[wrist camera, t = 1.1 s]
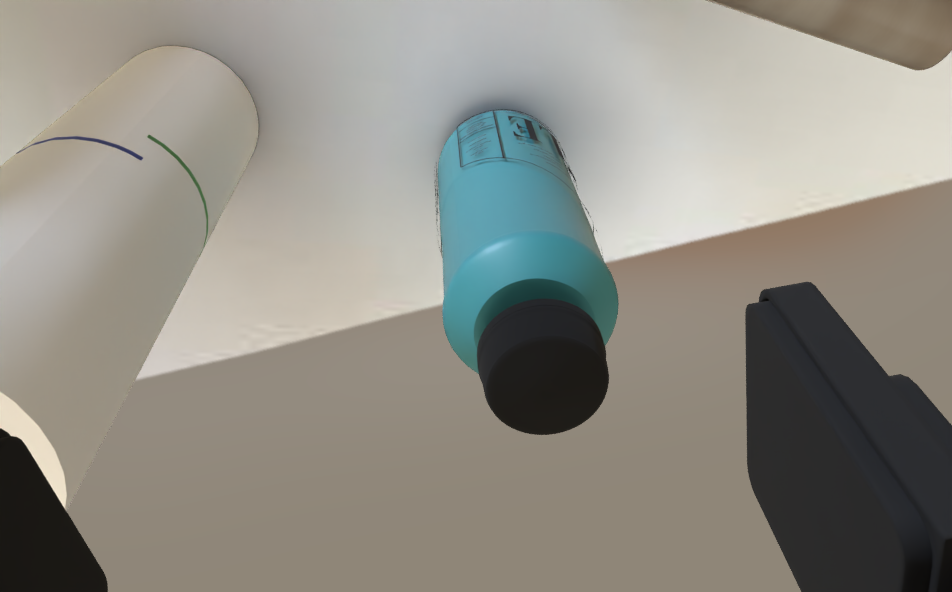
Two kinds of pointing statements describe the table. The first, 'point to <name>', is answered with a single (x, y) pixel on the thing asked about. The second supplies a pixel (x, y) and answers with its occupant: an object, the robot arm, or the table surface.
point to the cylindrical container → (109, 243)
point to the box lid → (866, 25)
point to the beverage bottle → (523, 274)
